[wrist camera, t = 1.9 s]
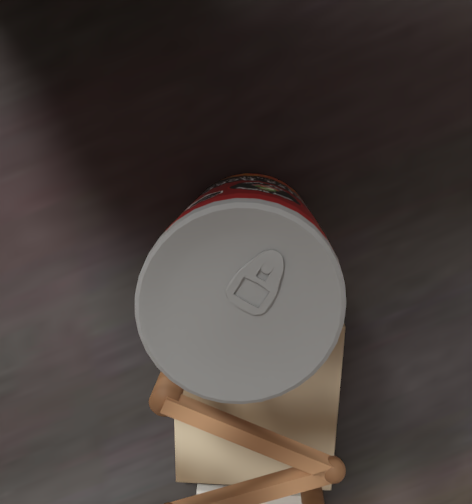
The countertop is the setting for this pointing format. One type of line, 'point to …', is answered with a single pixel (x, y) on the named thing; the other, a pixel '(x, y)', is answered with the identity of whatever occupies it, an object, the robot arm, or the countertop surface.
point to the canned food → (241, 293)
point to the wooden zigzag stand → (258, 440)
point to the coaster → (285, 503)
